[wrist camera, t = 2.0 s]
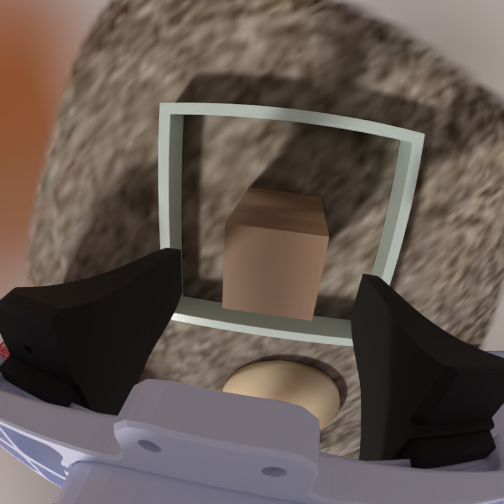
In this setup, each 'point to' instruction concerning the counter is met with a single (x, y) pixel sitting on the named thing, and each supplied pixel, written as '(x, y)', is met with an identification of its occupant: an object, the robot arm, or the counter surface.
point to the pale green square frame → (409, 140)
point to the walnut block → (275, 253)
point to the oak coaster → (288, 386)
